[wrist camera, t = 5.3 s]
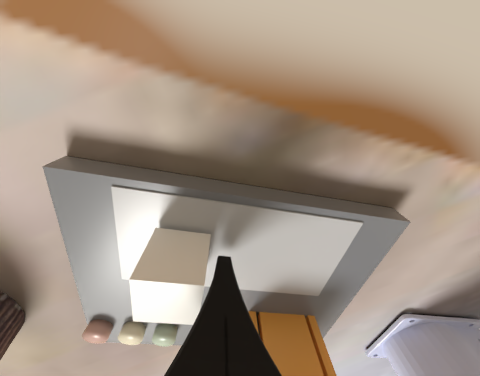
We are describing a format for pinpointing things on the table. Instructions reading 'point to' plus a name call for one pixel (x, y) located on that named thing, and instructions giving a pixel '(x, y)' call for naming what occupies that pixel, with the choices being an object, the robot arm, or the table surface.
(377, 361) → the table surface
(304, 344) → the cap
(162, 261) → the lever
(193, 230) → the panel
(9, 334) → the cupcake
